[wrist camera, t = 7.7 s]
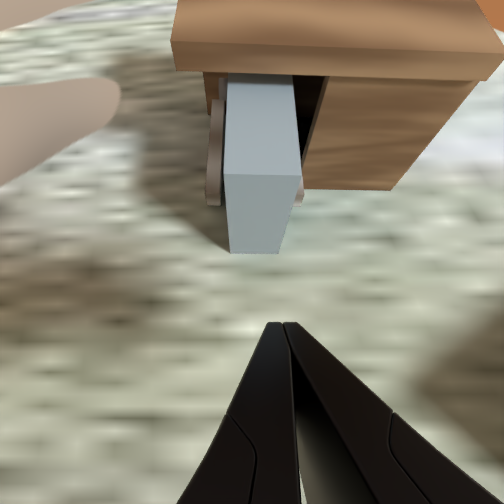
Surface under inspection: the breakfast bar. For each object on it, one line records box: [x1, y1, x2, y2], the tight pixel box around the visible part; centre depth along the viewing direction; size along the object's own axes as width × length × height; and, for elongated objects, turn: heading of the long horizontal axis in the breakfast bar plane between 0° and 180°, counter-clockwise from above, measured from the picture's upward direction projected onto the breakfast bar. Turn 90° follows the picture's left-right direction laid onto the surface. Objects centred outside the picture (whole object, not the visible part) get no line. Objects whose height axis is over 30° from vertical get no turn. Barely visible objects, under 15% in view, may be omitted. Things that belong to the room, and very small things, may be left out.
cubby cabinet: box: [170, 0, 504, 207], centre depth 22 cm, size 14×18×12 cm
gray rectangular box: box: [219, 72, 302, 254], centre depth 22 cm, size 16×5×10 cm, turn 0°
